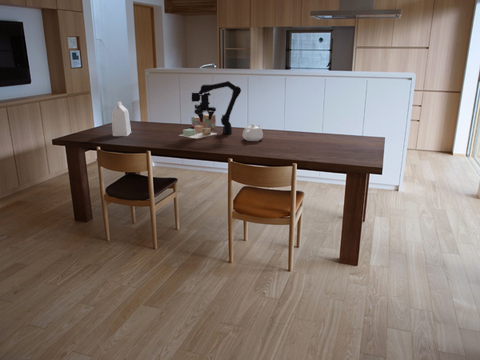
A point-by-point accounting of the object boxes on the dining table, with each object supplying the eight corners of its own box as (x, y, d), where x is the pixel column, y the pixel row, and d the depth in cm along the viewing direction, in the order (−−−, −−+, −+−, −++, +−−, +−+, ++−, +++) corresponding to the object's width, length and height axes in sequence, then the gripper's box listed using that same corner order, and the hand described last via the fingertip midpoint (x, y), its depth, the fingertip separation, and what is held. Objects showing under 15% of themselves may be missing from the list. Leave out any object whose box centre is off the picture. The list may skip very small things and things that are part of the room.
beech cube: (210, 134, 329) (210, 128, 328) (206, 135, 325) (206, 129, 324) (206, 133, 332) (206, 127, 331) (201, 134, 328) (201, 128, 327)
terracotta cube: (203, 132, 339) (202, 125, 338) (198, 133, 335) (198, 126, 334) (198, 131, 342) (198, 125, 341) (194, 132, 338) (194, 126, 337)
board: (217, 134, 333) (217, 133, 333) (197, 139, 315) (197, 138, 315) (199, 131, 345) (199, 130, 345) (178, 136, 327) (178, 135, 327)
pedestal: (195, 134, 330) (195, 129, 328) (189, 136, 324) (189, 130, 323) (189, 133, 334) (189, 128, 333) (183, 134, 329) (182, 129, 327)
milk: (127, 136, 328) (124, 102, 320) (112, 136, 328) (109, 102, 320) (131, 132, 339) (128, 100, 331) (117, 132, 340) (114, 100, 331)
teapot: (255, 144, 301) (255, 127, 297) (236, 141, 308) (236, 125, 304) (268, 137, 322) (269, 121, 318) (250, 135, 329) (251, 120, 325)
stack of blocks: (191, 127, 361) (191, 113, 357) (196, 126, 366) (195, 112, 362) (211, 130, 350) (211, 115, 346) (215, 129, 355) (215, 114, 351)
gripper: (205, 99, 334) (206, 118, 339) (189, 101, 321) (190, 121, 325) (216, 100, 327) (216, 119, 332) (199, 102, 314) (200, 123, 319)
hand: (205, 121), depth 327 cm, fingers open, 9 cm apart
